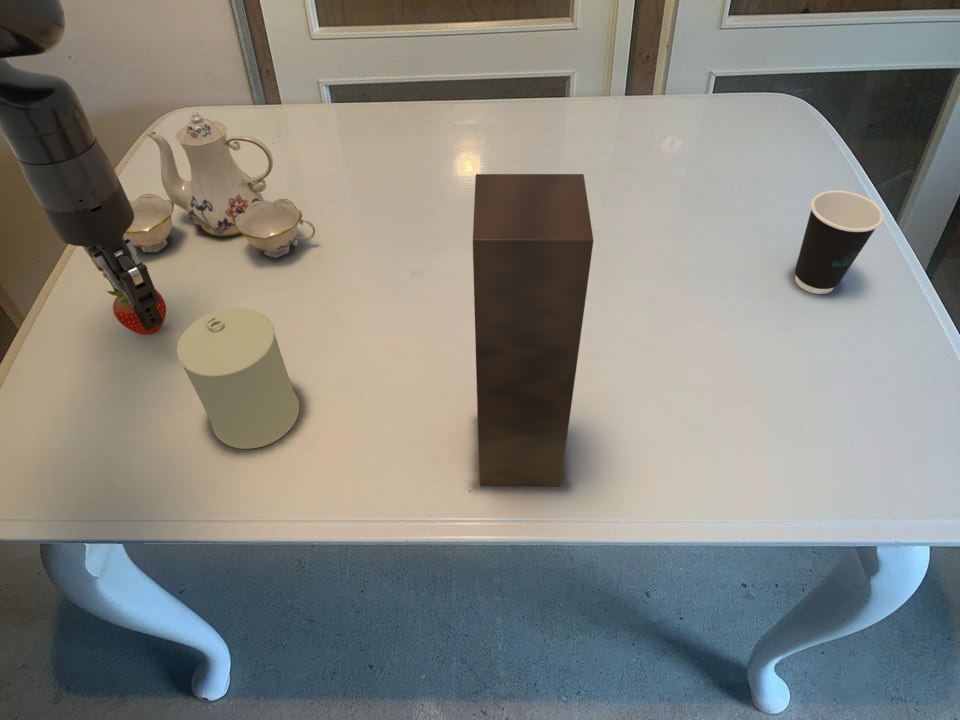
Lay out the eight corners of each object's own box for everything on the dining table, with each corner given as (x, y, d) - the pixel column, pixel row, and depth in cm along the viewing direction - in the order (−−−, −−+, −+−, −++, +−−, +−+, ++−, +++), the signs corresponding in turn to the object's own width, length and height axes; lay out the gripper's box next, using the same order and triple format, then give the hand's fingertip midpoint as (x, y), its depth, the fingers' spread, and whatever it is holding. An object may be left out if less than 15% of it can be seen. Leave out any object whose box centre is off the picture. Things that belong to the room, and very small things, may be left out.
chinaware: (109, 278, 92) (44, 178, 79) (144, 197, 102) (91, 95, 88) (317, 273, 92) (287, 172, 78) (331, 193, 102) (306, 91, 88)
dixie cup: (791, 254, 91) (821, 182, 83) (854, 274, 88) (890, 202, 80) (774, 288, 86) (803, 215, 78) (839, 310, 83) (876, 237, 75)
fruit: (163, 312, 85) (138, 261, 79) (184, 332, 82) (160, 281, 76) (121, 334, 82) (93, 283, 76) (142, 355, 80) (114, 305, 74)
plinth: (479, 485, 67) (472, 240, 45) (480, 421, 73) (475, 173, 51) (560, 486, 67) (593, 240, 45) (556, 421, 72) (583, 173, 50)
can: (274, 369, 78) (246, 290, 69) (315, 418, 73) (291, 340, 64) (198, 410, 74) (158, 332, 65) (236, 464, 69) (198, 388, 60)
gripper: (12, 173, 69) (86, 298, 81) (67, 234, 62) (139, 361, 74) (86, 146, 73) (145, 270, 85) (146, 201, 65) (201, 327, 78)
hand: (142, 312), depth 80 cm, fingers closed on fruit, 5 cm apart
